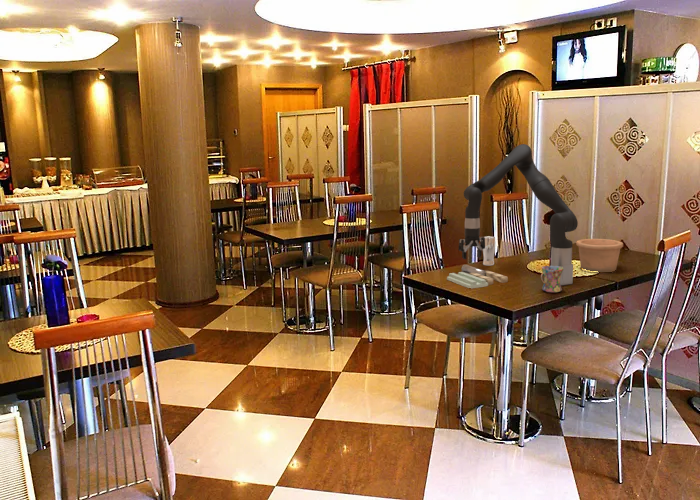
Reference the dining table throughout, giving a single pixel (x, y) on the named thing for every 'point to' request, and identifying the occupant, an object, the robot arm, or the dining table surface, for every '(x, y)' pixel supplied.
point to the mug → (551, 278)
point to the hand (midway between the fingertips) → (471, 258)
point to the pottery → (599, 254)
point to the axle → (473, 270)
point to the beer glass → (489, 250)
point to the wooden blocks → (491, 277)
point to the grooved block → (467, 280)
